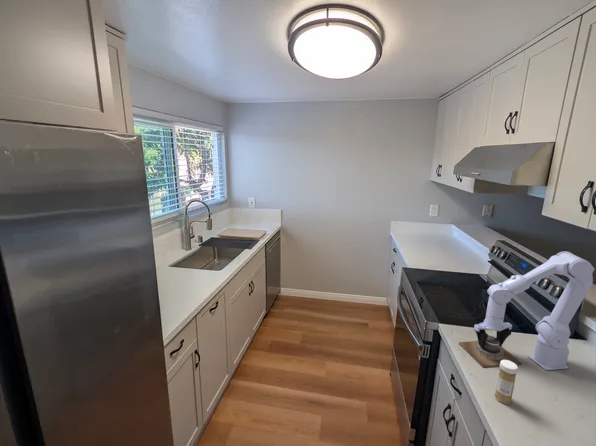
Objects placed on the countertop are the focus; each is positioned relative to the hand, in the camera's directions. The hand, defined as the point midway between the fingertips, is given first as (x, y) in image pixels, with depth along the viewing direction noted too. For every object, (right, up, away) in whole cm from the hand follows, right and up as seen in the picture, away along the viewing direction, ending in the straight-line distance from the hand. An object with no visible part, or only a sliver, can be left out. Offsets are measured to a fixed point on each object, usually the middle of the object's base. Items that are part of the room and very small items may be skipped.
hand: (489, 345), depth 113 cm
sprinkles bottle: (-10, -9, -21) cm, 25 cm away
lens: (0, -3, 0) cm, 3 cm away
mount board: (0, -4, +1) cm, 4 cm away
